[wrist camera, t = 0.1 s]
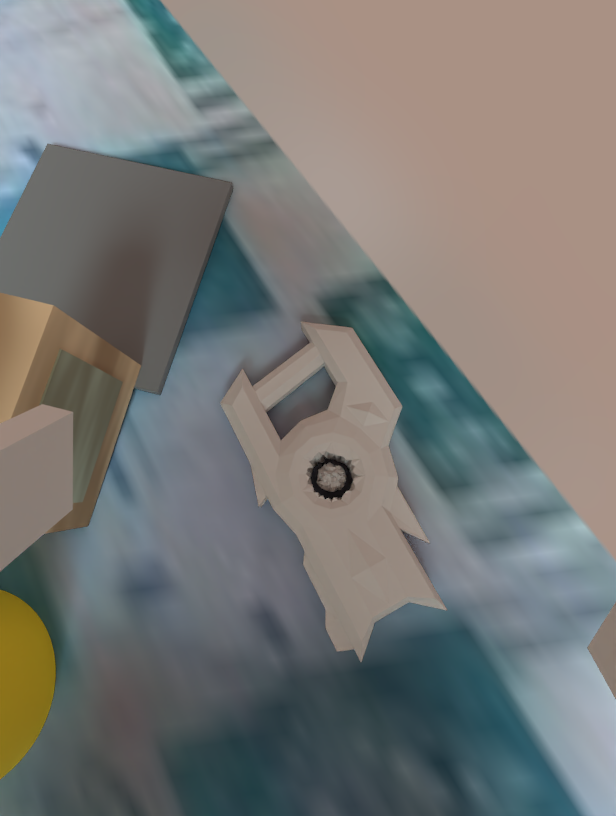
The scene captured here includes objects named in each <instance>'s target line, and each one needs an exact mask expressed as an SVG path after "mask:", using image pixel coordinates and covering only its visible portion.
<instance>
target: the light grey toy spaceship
mask: <svg viewBox="0 0 616 816" xmlns="http://www.w3.org/2000/svg"><path fill="white" fill-rule="evenodd" d="M301 327H302V331H303V333H304V334H305V336H306V338H307V339H308V341H309V344H308V345H306V346H305V347H304V348H302V349H301V350H300V351H298V352H297V353H296V354H294V355H293V356H292V357H290V358H289V359H288V360H286V361H285V362H284V363H282V364H281V365H280V366H279V367H277V368H276V369H275V370H273V371H272V372H271V373H269V374H268V375H267V376H265V377H264V378H263V379H261V380H260V381H259V382H257V383H256V384H255V385H253V386H252V385H251V383H250V381H249V379H248V377H247V376H246V374H245V372H244V370H243V369H242V370H241V372H240V373H239V375H238V376H237V378H236V379H235V381H234V382H233V384H232V386H231V387H230V389H229V390H228V392H227V393H226V395H225V396H224V398H223V399H222V401H221V403H220V404H221V406H222V408H223V410H224V412H225V414H226V416H227V418H228V420H229V422H230V424H231V426H232V428H233V430H234V432H235V434H236V436H237V438H238V440H239V442H240V444H241V446H242V448H243V450H244V452H245V454H246V456H247V458H248V460H249V462H250V464H251V470H252V475H253V480H254V485H255V490H256V496H257V501H258V506H261V507H262V506H263V505H264V503H265V502H266V501H267V499H268V500H269V502H270V504H271V506H272V508H273V509H274V511H275V512H276V513H277V514H278V515H279V516H280V517H281V518H282V520H283V521H284V522H285V523H286V524H287V525H288V526H289V527H290V529H291V530H292V531H293V532H294V533H295V534H296V535H297V537H298V539H299V541H300V543H301V545H302V547H303V549H304V560H303V566H304V568H305V569H306V571H307V573H308V575H309V577H310V579H311V581H312V583H313V585H314V587H315V589H316V591H317V593H318V595H319V597H320V599H321V601H322V603H323V605H324V607H325V609H326V611H325V628H326V630H327V632H328V634H329V636H330V638H331V640H332V643H333V645H334V647H335V649H336V651H337V652H338V651H346V650H353V649H354V650H355V652H356V654H357V656H358V658H359V660H360V662H362V659H363V656H364V653H365V650H366V648H367V645H368V642H369V639H370V636H371V633H372V630H373V627H374V624H375V622H377V621H378V620H380V619H382V618H383V617H385V616H387V615H388V614H390V613H392V612H393V611H395V610H397V609H398V608H400V607H402V606H404V605H405V604H407V603H409V602H410V603H415V604H419V605H424V606H429V607H433V608H438V609H442V610H447V609H446V607H445V605H444V604H443V602H442V600H441V598H440V597H439V595H438V593H437V592H436V590H435V588H434V586H433V585H432V583H431V581H430V580H429V578H428V576H427V574H426V573H425V571H424V569H423V568H422V566H421V564H420V562H419V561H418V559H417V557H416V555H415V554H414V552H413V550H412V549H411V547H410V545H409V543H408V542H407V540H406V538H405V537H404V535H403V533H402V531H403V532H405V533H407V534H409V535H411V536H414V537H416V538H418V539H420V540H422V541H425V542H427V543H429V544H430V542H429V540H428V539H427V537H426V535H425V533H424V532H423V530H422V528H421V526H420V525H419V523H418V521H417V519H416V518H415V516H414V514H413V512H412V511H411V509H410V507H409V505H408V504H407V502H406V500H405V498H404V497H403V495H402V493H401V491H400V490H399V488H398V486H397V482H398V475H397V472H396V469H395V465H394V462H393V459H392V455H391V452H390V448H389V442H390V440H391V437H392V434H393V431H394V428H395V426H396V423H397V420H398V417H399V414H400V411H401V409H402V405H401V403H400V402H399V400H398V399H397V397H396V395H395V394H394V392H393V391H392V389H391V388H390V386H389V385H388V383H387V381H386V380H385V378H384V377H383V375H382V374H381V372H380V370H379V369H378V367H377V366H376V364H375V363H374V361H373V359H372V358H371V356H370V355H369V353H368V352H367V350H366V349H365V347H364V345H363V344H362V342H361V341H360V339H359V338H358V336H357V334H356V333H355V331H354V330H353V328H350V327H342V326H334V325H325V324H317V323H309V322H301ZM323 367H324V368H325V369H326V371H327V373H328V374H329V376H330V378H331V379H332V381H333V383H334V384H335V386H336V388H335V390H334V393H333V396H332V399H331V401H330V404H329V407H328V410H325V411H323V412H320V413H318V414H315V415H313V416H310V417H308V418H306V419H303V420H301V421H300V422H299V423H298V424H297V425H296V426H295V427H294V428H293V429H292V430H291V431H290V432H289V433H288V434H287V435H286V436H285V437H284V438H283V439H282V440H280V438H279V436H278V434H277V432H276V430H275V428H274V426H273V424H272V423H271V421H270V419H269V417H268V415H267V413H266V412H268V411H269V410H270V409H271V408H273V407H274V406H275V405H276V404H278V403H279V402H280V401H281V400H283V399H284V398H285V397H286V396H288V395H289V394H290V393H291V392H293V391H294V390H295V389H296V388H298V387H299V386H300V385H301V384H303V383H304V382H305V381H306V380H308V379H309V378H310V377H311V376H313V375H314V374H315V373H316V372H318V371H319V370H320V369H321V368H323ZM325 458H329V459H330V460H332V459H336V461H338V462H341V463H343V464H345V465H347V466H348V467H347V469H350V473H351V477H352V478H353V479H354V480H353V482H352V483H351V485H350V486H351V488H350V490H349V491H346V492H345V493H344V495H343V496H342V497H341V498H339V499H338V498H337V497H336V498H335V497H334V498H333V499H330V498H327V499H324V497H323V495H322V496H320V494H319V493H318V492H315V491H314V488H313V484H311V478H310V477H311V476H312V474H311V473H312V472H313V467H314V466H318V464H317V462H319V463H320V462H324V460H325ZM317 477H318V479H317V485H319V487H321V489H324V490H326V491H329V492H335V491H336V490H341V487H344V485H345V484H344V482H345V481H346V477H347V475H345V470H344V469H343V468H342V467H341V466H340V465H335V466H334V465H333V464H332V463H331V462H330V463H327V464H324V466H323V467H321V468H320V469H318V475H317ZM447 611H448V610H447Z"/></svg>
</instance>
